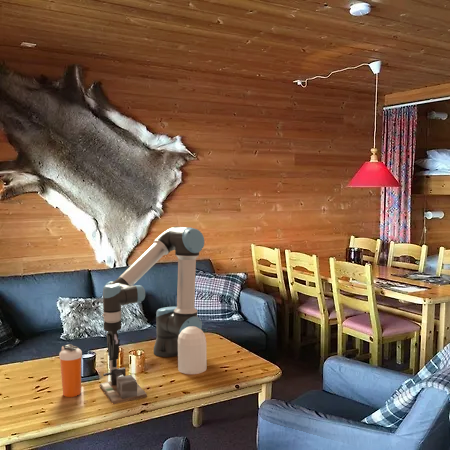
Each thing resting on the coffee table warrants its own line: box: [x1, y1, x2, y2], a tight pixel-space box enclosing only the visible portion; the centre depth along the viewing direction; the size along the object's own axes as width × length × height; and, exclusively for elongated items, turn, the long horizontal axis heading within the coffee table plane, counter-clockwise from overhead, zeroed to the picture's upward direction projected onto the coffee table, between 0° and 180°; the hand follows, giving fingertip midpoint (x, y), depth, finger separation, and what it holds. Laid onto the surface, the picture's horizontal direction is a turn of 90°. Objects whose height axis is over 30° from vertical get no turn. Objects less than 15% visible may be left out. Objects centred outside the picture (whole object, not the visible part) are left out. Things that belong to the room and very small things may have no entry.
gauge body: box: [99, 374, 148, 405], centre depth 210 cm, size 20×14×7 cm
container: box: [177, 326, 208, 375], centre depth 235 cm, size 14×13×20 cm
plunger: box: [102, 367, 127, 385], centre depth 211 cm, size 9×9×6 cm
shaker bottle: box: [58, 343, 83, 398], centre depth 208 cm, size 9×9×20 cm
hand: (113, 373), depth 221 cm, fingers closed
